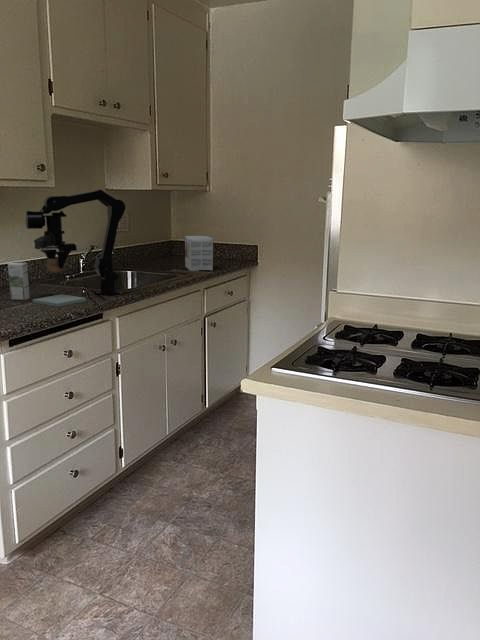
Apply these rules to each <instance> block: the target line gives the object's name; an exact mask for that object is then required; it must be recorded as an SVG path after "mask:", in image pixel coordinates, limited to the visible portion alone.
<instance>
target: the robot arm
mask: <svg viewBox="0 0 480 640" xmlns="http://www.w3.org/2000/svg"><path fill="white" fill-rule="evenodd" d="M93 201H99V202H100V203H101V204H103V205H104V206H105V207H106V208H107V212H106V213H107V214H106V215H107V225H106V230H105V234H104V238H103V239H104V240H103V245H102V248H101V253H100V255H99V256H95V259H94V260H95V263H94V264H93V267H94V271H95V272H96V274H98V275H99V276H100V278H101V279H100V292H98V294H100V295H107V296H112V295H113V296H114V295H117V293H118V294H121V292H120V291H118V279H119V275H118V274H117V273H116V271H114V270H113V269H114V261H113V252H114V246H115V242H116V237H117V233H118V230H119V228H118V227H119V225H120V221H121V220H122V218H123V216H124V213H125V211H126V204H125V202H124V201H123V200H122V199H117V198H115V197H113V196H112V195H110V194H108V193H106V192H105V191H104V190H102V189H94V190H91V191H85V192H80V193H76V194H69V195H48V196H47V197H45V199H44V202H43V203H44V204H43V206H42V207H41V209H40V210H39V211H33V210H32V211H31V210H26V212H25V213H26V214H25V219H24V220H25V228H26V229H27V230H39V229H40V230H41V229H43V227H46V230H44V232H43V235H41V236H40V237H37V238H36V239H34V240H33V242H34V249H35V250H36V249H37V250H40V252H42V253H43V254H44V255H45V257H46V260H47V259H48V258H58V261H59V267H60V269H62V268H63V266H64V264H65V261H67V259H68V257H69V255H70V253H72V252H75V251H76V252H77V250H78V249H77V248H78V247H77V245H76V243H70V242H66V241H64V240H63V239H64V238H63V235H64V234H65V230H63V225H62V224H63V222H62V218H66V217H67V214H65V213H64V211H63V209H65V208H68V207H71V206H73V205H77V204H78V205H79V204H82V203H88V202H93ZM57 211H59V212H57ZM50 213H51V214H50ZM44 214H45V215H44ZM48 214H50V215H48ZM57 250H58V251H57Z"/></svg>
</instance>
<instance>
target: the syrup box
mask: <svg viewBox="0 0 480 640" xmlns="http://www.w3.org/2000/svg"><path fill="white" fill-rule="evenodd" d="M7 271H8V272H7V273H8V281H9V282H8V283H9V293H10V294H9V295H10V300H11V301H27V300H28V299H29V298H30V289H29V273H28V272H29V271H28V263H27V262H19V261H18V262H15V261H14V262H9V263H7Z"/></svg>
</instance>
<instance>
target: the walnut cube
mask: <svg viewBox="0 0 480 640" xmlns="http://www.w3.org/2000/svg"><path fill="white" fill-rule="evenodd" d="M66 261H67V260H66ZM66 261H65V264H64V266H63V268H62V269H60V267H59V261H58V257H55V258H48V259H47V258H46V266H47V269H46V270H47V272H53V273H60V272H66V271H67V264H66V263H67V262H66Z"/></svg>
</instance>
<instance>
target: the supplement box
mask: <svg viewBox="0 0 480 640" xmlns="http://www.w3.org/2000/svg"><path fill="white" fill-rule="evenodd" d="M184 250H185V251H184V253H185V254H184V259H185V261H184V263H185V264H184V266H185V268H186V269H188V270H189V271H190V272H200V271H199V270H210V271H213V270H214V268H213V267H214V265H213V263H214V262H213V261H214V254H213V252H214V238H213V237H211V236H207V235H185V236H184Z"/></svg>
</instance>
